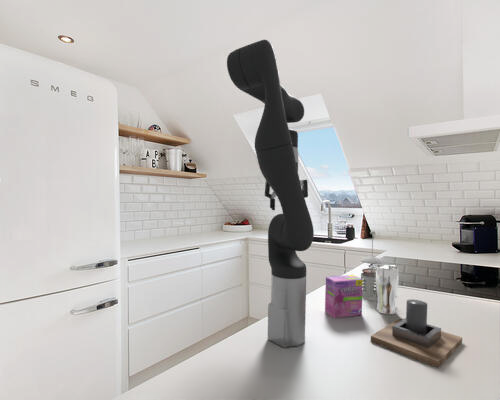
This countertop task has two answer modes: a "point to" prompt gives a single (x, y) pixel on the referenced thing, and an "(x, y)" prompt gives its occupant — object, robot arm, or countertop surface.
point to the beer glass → (386, 288)
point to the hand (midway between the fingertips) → (285, 210)
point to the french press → (370, 276)
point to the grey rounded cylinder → (416, 316)
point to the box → (343, 296)
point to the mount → (418, 342)
